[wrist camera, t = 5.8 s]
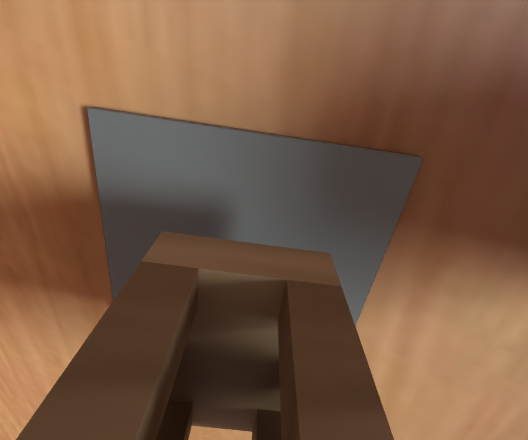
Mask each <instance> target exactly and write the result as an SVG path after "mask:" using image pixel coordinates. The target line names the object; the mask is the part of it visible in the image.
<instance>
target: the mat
mask: <svg viewBox="0 0 528 440" xmlns="http://www.w3.org/2000/svg"><path fill="white" fill-rule="evenodd" d="M87 110H88V118H89V125H90V133H91V140H92V148H93V155H94V163H95V170H96V178H97V185H98V193H99V200H100V207H101V215H102V222H103V230H104V237H105V245H106V252H107V260H108V267H109V275H110V282H111V289H112V297H113V301H114V299H115V298H116V296H117V295H118V294H119V292H120V291H121V289H122V288H123V286H124V285H125V284H126V282H127V281H128V279H129V278H130V276H131V275H132V274H133V272H134V271H135V269H136V268H137V267H138V265H139V264H140V262H141V261H142V259H143V258H144V257H145V255H146V254H147V252H148V251H149V249H150V248H151V247H152V245H153V244H154V242H155V241H156V239H157V238H158V237H159V235H160V234H161V232H162V231H165V232H173V233H180V234H188V235H195V236H203V237H211V238H218V239H226V240H233V241H241V242H248V243H256V244H264V245H271V246H279V247H286V248H294V249H302V250H309V251H317V252H324V253H330V254H331V257H332V260H333V263H334V266H335V269H336V272H337V274H338V277H339V280H340V283H341V286H342V289H343V292H344V295H345V298H346V301H347V304H348V307H349V310H350V313H351V315H352V318H353V321H354V324H355V325H356V323H357V320H358V318H359V315H360V313H361V310H362V308H363V306H364V303H365V301H366V298H367V296H368V293H369V291H370V288H371V286H372V284H373V281H374V279H375V276H376V274H377V271H378V269H379V266H380V264H381V262H382V259H383V257H384V254H385V252H386V249H387V247H388V244H389V242H390V239H391V237H392V235H393V232H394V230H395V227H396V225H397V222H398V220H399V217H400V215H401V213H402V210H403V208H404V205H405V203H406V200H407V198H408V195H409V193H410V191H411V188H412V186H413V183H414V181H415V178H416V176H417V173H418V171H419V169H420V166H421V164H422V161H423V158H421V157H419V156H414V155H408V154H401V153H395V152H388V151H381V150H375V149H368V148H362V147H355V146H348V145H342V144H335V143H329V142H322V141H316V140H309V139H302V138H296V137H289V136H283V135H276V134H269V133H263V132H256V131H250V130H243V129H237V128H230V127H223V126H217V125H210V124H204V123H197V122H190V121H184V120H177V119H171V118H164V117H158V116H151V115H144V114H138V113H131V112H125V111H118V110H112V109H105V108H98V107H90V108H87Z"/></svg>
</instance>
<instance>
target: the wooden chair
mask: <svg viewBox="0 0 528 440" xmlns="http://www.w3.org/2000/svg"><path fill="white" fill-rule="evenodd" d="M191 426H202V427H212V428H222V429H232V430H242V431H252V440H394V438H393V435H392V433H391V430H390V427H389V424H388V421H387V418H386V415H385V412H384V409H383V406H382V403H381V400H380V397H379V395H378V392H377V389H376V386H375V383H374V380H373V377H372V374H371V371H370V368H369V365H368V362H367V359H366V356H365V354H364V351H363V348H362V345H361V342H360V339H359V336H358V333H357V330H356V327H355V324H354V321H353V318H352V315H351V313H350V310H349V307H348V304H347V301H346V298H345V295H344V292H343V289H342V286H341V283H340V280H339V277H338V274H337V272H336V269H335V266H334V263H333V260H332V257H331V254H330V253H324V252H317V251H309V250H302V249H294V248H286V247H279V246H271V245H264V244H256V243H248V242H241V241H233V240H226V239H218V238H211V237H203V236H195V235H188V234H180V233H173V232H165V231H162V232H161V234H160V235H159V237H158V238H157V239H156V241H155V242H154V244H153V245H152V247H151V248H150V249H149V251H148V252H147V254H146V255H145V257H144V258H143V259H142V261H141V262H140V264H139V265H138V267H137V268H136V269H135V271H134V272H133V274H132V275H131V276H130V278H129V279H128V281H127V282H126V284H125V285H124V286H123V288H122V289H121V291H120V292H119V294H118V295H117V296H116V298H115V299H114V301H113V302H112V304H111V305H110V306H109V308H108V309H107V311H106V312H105V314H104V315H103V316H102V318H101V319H100V321H99V322H98V324H97V325H96V326H95V328H94V329H93V331H92V332H91V334H90V335H89V336H88V338H87V339H86V341H85V342H84V344H83V345H82V346H81V348H80V349H79V351H78V352H77V354H76V355H75V356H74V358H73V359H72V361H71V362H70V363H69V365H68V366H67V368H66V369H65V371H64V372H63V373H62V375H61V376H60V378H59V379H58V381H57V382H56V383H55V385H54V386H53V388H52V389H51V391H50V392H49V393H48V395H47V396H46V398H45V399H44V401H43V402H42V403H41V405H40V406H39V408H38V409H37V411H36V412H35V413H34V415H33V416H32V418H31V419H30V421H29V422H28V423H27V425H26V426H25V428H24V429H23V431H22V432H21V433H20V435H19V436H18V438H17V439H16V440H188V439H189V435H190V430H191Z"/></svg>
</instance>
